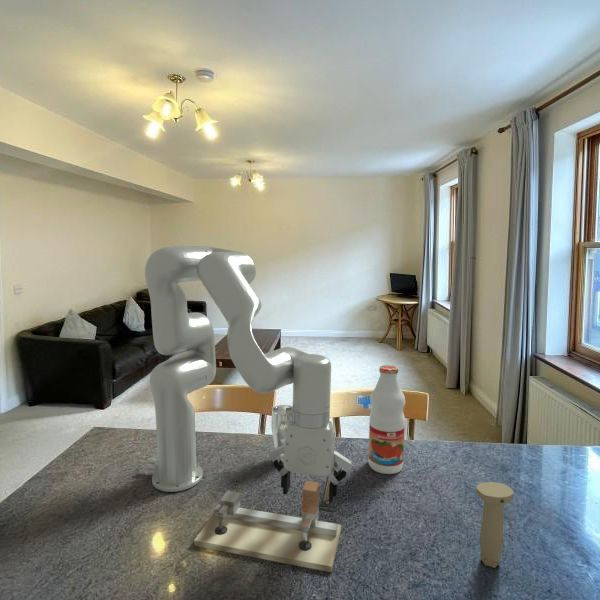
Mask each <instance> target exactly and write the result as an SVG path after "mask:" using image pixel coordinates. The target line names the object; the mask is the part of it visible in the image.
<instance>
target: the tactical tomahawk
mask: <svg viewBox="0 0 600 600" xmlns="http://www.w3.org/2000/svg"><path fill="white" fill-rule="evenodd" d="M334 467H335V468H336V469H337V467H338V462H336V461H335V464H334ZM330 481H331V480H330V479H329V478H328V477H327V482H326V487H325V492H324V495H323V499H322V500H323V501H322V503H321V504H320V503H319V511H323V512H329V513H335V510H332V509H330V508H336V505H335V506H334V505H333V506H332V505H330V504H331V502H330V501H329V485H330ZM325 507H326V508H325Z"/></svg>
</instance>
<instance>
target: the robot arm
mask: <svg viewBox="0 0 600 600" xmlns="http://www.w3.org/2000/svg"><path fill="white" fill-rule="evenodd" d="M144 267H145V268H144V277H145V283H146V287H147V290H148V294H149V298H150V308H151V309H150V311H151V325H152V337H153V344H154V348H155V349H156V351H157V352H158V353H159V354H160V355H163V356H174V355H178V354H181V353H185V352H186V353H187V354H186V355H182V356H177V357H175V358H171V359H168V360H165V361H163V362H161V363H159V364H157V365H156V366H155V367H154V368H153V369H152V370H151V371H150V375H149V385H150V389H151V393H152V397H153V403H154V411H155V426H156V429H155V430H156V448H157V450H156V452H157V457H148V458H147V461H146V465H145V469H146V470H149V471H153V472H154V474H153V475H152V477H151V483H152V486H153V487H154V488H155V489H157V490H159V491H161V492H166V493H168V492H169V493H173V492H181V491H185V490H188V489H190V488H192V487H195V486H197V484H199V483H200V482H201V481H202V478H203V476H204V475H203V474H204V473H203V468H202V467H201V466H200V465H199V464H197V442H196V441H197V440H196V439H197V436H196V435H197V434H196V412H195V408H194V406H193V404H192V402H191V401H190V399H188V398H189V397H188V395H189V394H190V393H193V392H195V391H197V390H200V389H203V388H205V387H207V386H209V385H210V384H212V382H214V380H215V377H216V374H217V373H216V371H217V359H216V343H215V342H216V341H215V331H214V327H213V324H212V322H211V320H210V319H209V318H208V316H206V315H205V314H203V313H202V312H197V311H196V312H188V302H187V297H186V294H185V292H184V290H183V289H182V287H181V286H180V285H179V283H184V282H197V281H201V283H202V285H203V287H204V288H205V290H206V292H207V293H208V294H209V296H210V297H211V298H212V300H213V301H214V303H215V305H216V306H217V308H218V310H219V311H220V313H221V314H222V316H223V317H224V319H225V321H226V322H227V334H226V338H227V339H226V341H227V347H228V353H229V354H228V355H229V357H230V360H231V361H232V363H233V365H234V367H235V369H236V370H237V372H238V373H239V374H240V376H241V378H242V379H243V381H244V382H245V384H247V386H249V388H250V389H252V390H253V391H254V392H256V393H259V394H261V395H262V394H264V395H265V394H271V393H272V392H275V391H276V390H277V391H278V390H279V389H281V388H284V386H285V387H286V386H287V385H291V384H292V405H291V406H292V408H291V407H290V408H286V414H288V415H291V417H292V418H291V420H290V421H289V422H288V426H287V431H286V437H285V445H283V446H280V447H277V448H275V447H274V448H271V450H270V451H269V452H268V455H269V458H270V460H271V462H272V466H273V467H275V469H276V470H277V471H278V474H279V476H280V488H282V495H287V494H288V492H289V491H290V488H291V473H296V474H302V475H307V476H308V475H309V476H315V477H322V478H326V477H327V479H328V478H329V479H330V480H331V481H330V485H329V502H331V503H333V501H334V499H335V498H336V497H338V491H339V488H338V487H339V482H340V481H342V480H343V479H344V478H345V477H347V475H348V474H349V472H350V470H351V469H352V466H353V462H352V461H353V460H351V459H349V458H347V457H346V456H345V455H342V454H341V453H340V452H338V451H337V450H336V442H335V432H334V425H333V422H332V421H331V420H330V417H331V416H330V415H331V414H330V413H331V388H332V386H331V384H332V381H331V380H332V362H331V360H330V359H329V358H328V357H327V356H325V355H322V354H316V353H307V352H304V351H303V350H300V349H297V348H294V347H291V346H284V347H281V348H277V349H275V350H271V351H268V352H265V353H264V352H263V351H262V349H261V348H260V346H259V345H258V343H257V341H256V339H255V336H254V334H253V328H252V326H253V325H252V324H253V323H252V322H253V319H254V318H255V317H256V316H257V315H258V314H259V312H260V311H261V308H262V301H261V299H260V298H259V297H258V295H257V294H256V292H255V291H254V289H253V288H252V286H251V284H252V283H253V281H254V280H255V277H256V272H257V270H256V269H257V268H256V265H255V263H254V260H253V258H251V256H249V255H248V254H247V253H245V252H244V251H238V250H232V249H231V250H230V249H225V248H221V247H220V248H218V247H212V246H191V245H190V246H188V245H187V246H186V245H185V246H184V245H183V246H182V245H179V246H178V245H176V246H175V245H174V246H172V245H171V246H167V247H162V248H161V247H160V248H159V249H156V250H154V251H153V252H152V253H151V254H150V255H149V257H148V258H147V261H146V263H145V266H144ZM283 453H284V458H283V462H282V460H281V459H280V458H279V456H278V455H280V454H283ZM287 460H288V461H287ZM335 462H336V463H337V464H340V465H341V466H342V468H341V469H339V470H338V469H337V467H336V468H335V467H334V464H335ZM331 503H330V504H331Z"/></svg>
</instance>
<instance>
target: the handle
mask: <svg viewBox="0 0 600 600" xmlns="http://www.w3.org/2000/svg"><path fill="white" fill-rule="evenodd" d="M475 492H476V495H477V496H478V497H479V498H480V499H481V500H482V501H483V509H482V517H481V525H480V537H479V546H480V560H481V561H482V562H483V564H484V565H485V566H486V567H491V568H492V569H494V568H497V566H499V565H500V562H501V557H502V556H501V555H502V552H503V547H504V546H503V544H504V512H505V511H504V508H505V505H507V504H509V503H510V502H512V501H513V499H514V497H515V496H514V490H513V489H512V488H511V487H510V486H509V485H507V484H505V483H502V482H496V481H495V482H494V481H488V482H487V481H486V482H481V483H479V484H477V485H476V491H475Z"/></svg>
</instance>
